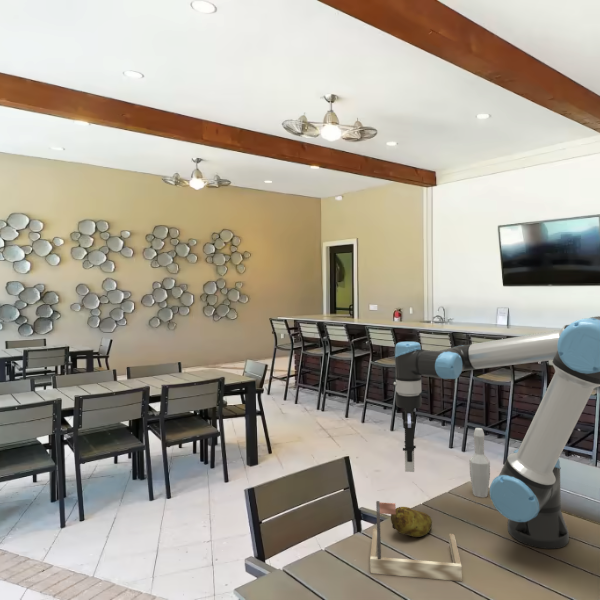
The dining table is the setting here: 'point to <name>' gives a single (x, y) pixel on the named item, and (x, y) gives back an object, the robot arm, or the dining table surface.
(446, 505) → the dining table surface
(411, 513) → the potato
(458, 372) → the robot arm
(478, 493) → the low poly bottle
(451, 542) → the wooden tray with flag
